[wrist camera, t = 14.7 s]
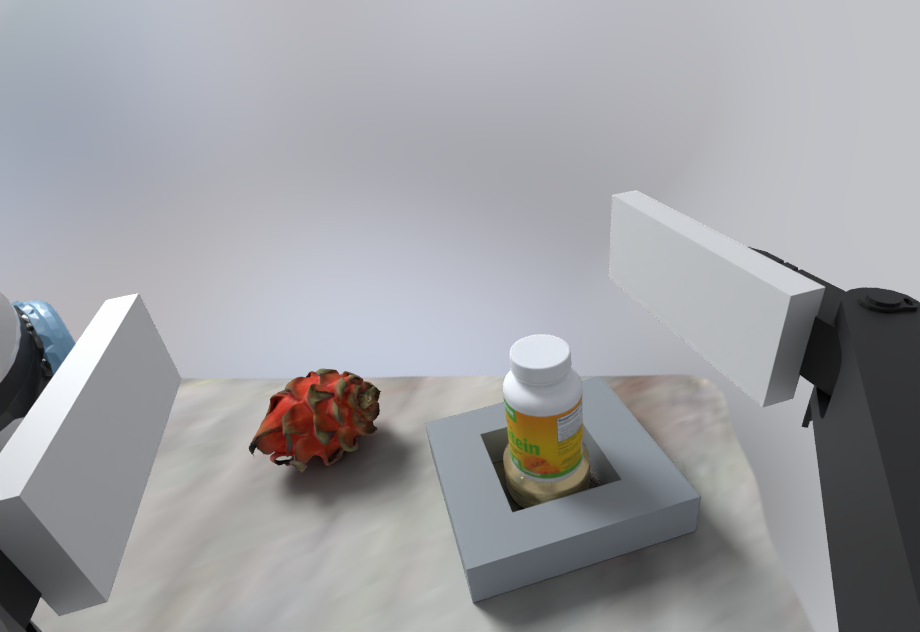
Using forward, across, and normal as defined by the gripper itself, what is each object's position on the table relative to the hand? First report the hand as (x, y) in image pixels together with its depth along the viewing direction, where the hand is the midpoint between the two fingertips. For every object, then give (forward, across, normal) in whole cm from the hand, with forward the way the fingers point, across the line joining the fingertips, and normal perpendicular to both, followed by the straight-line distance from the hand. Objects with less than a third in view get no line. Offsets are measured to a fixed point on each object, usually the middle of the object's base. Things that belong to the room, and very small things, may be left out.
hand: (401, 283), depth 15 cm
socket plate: (+13, +9, -27) cm, 31 cm away
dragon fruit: (+24, -8, -27) cm, 37 cm away
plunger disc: (+13, +9, -26) cm, 30 cm away
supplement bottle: (+13, +9, -23) cm, 28 cm away
